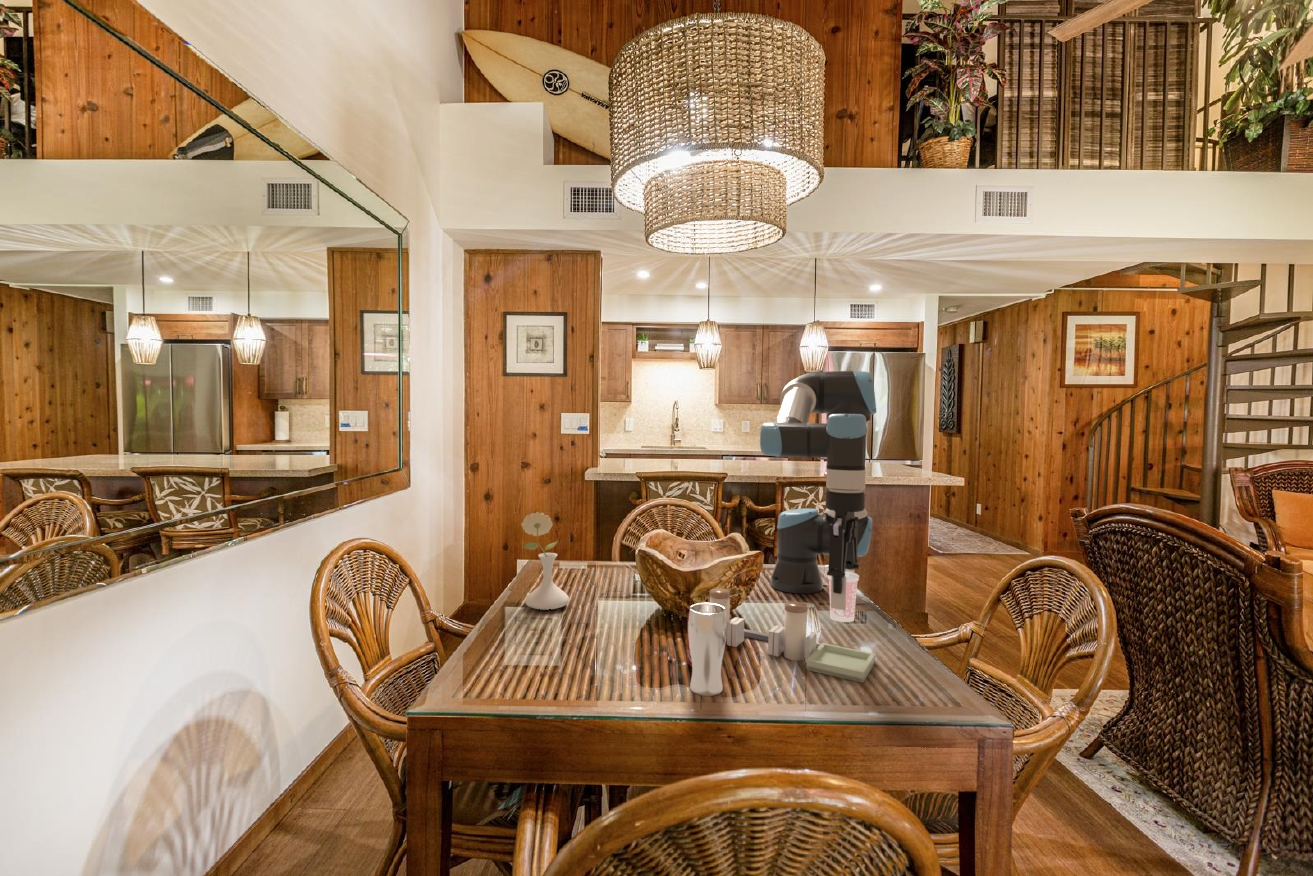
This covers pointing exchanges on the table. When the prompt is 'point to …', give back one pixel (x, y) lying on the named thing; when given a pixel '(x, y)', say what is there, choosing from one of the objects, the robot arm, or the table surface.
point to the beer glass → (707, 647)
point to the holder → (766, 637)
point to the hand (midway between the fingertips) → (842, 604)
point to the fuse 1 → (721, 601)
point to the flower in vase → (547, 591)
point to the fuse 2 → (795, 630)
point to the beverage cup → (850, 599)
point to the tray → (841, 662)
